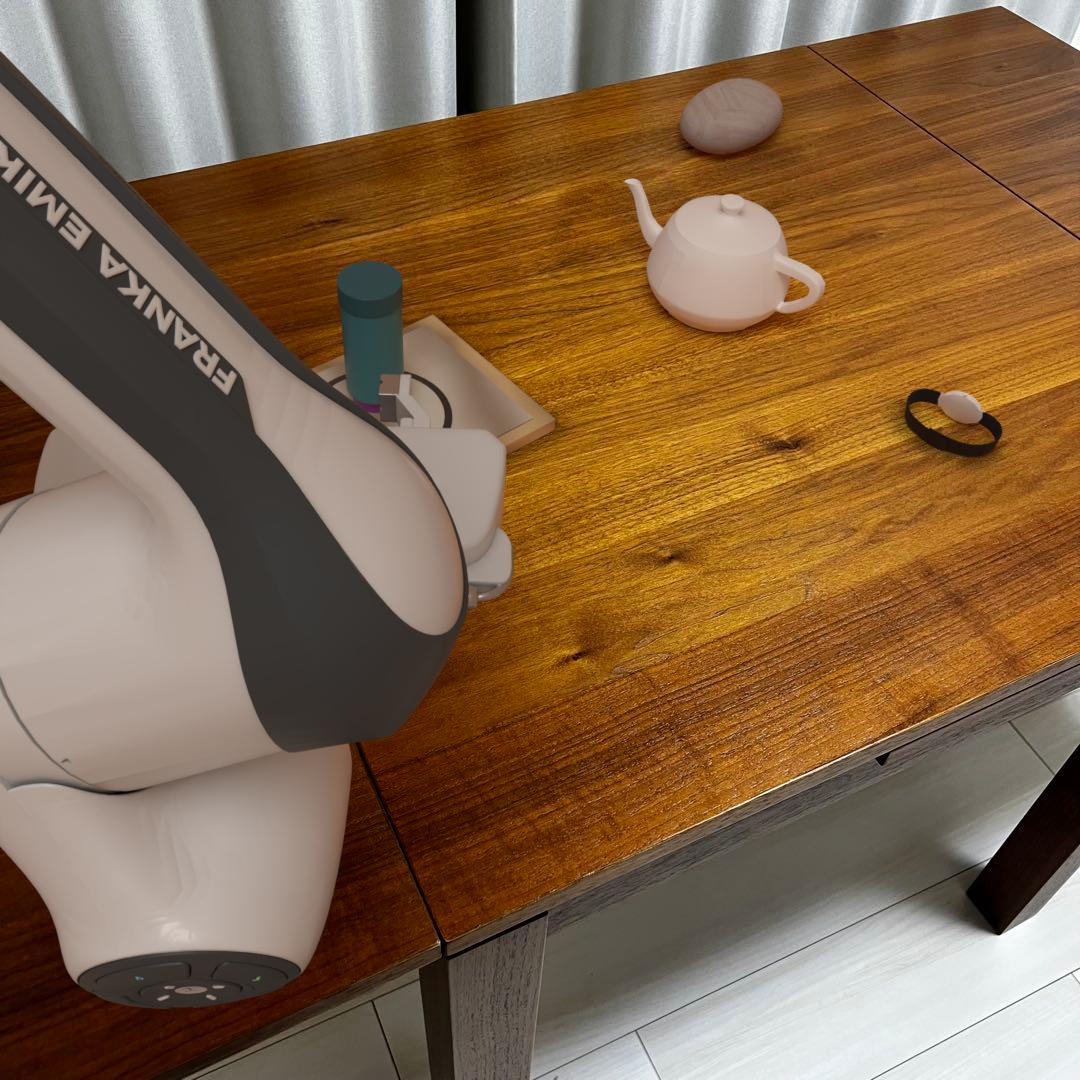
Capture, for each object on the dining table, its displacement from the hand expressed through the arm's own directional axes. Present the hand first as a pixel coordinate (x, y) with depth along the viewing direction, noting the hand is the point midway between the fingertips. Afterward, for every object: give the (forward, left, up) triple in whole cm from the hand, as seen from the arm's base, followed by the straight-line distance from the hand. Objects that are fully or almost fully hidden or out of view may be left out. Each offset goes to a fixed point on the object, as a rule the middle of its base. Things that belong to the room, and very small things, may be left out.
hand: (299, 380), depth 58 cm
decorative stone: (+69, +32, -25) cm, 81 cm away
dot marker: (+16, +19, -23) cm, 34 cm away
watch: (+51, -10, -25) cm, 58 cm away
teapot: (+48, +14, -25) cm, 56 cm away
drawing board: (+15, +17, -25) cm, 34 cm away
